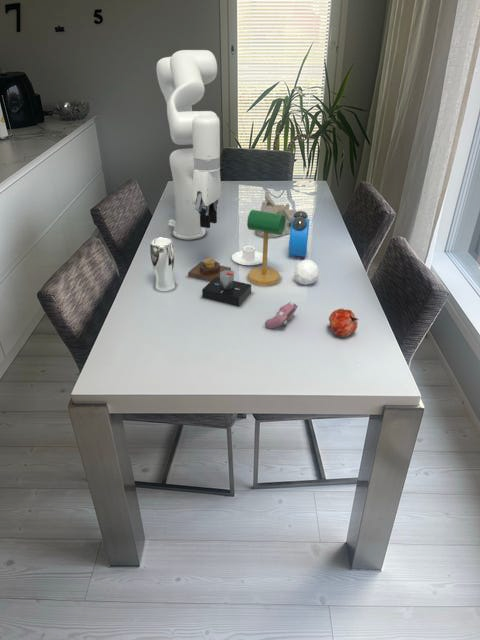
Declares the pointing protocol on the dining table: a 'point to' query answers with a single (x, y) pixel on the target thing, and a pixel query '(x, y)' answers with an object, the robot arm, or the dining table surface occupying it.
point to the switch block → (207, 271)
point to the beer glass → (163, 262)
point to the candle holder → (248, 256)
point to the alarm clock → (299, 234)
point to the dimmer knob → (226, 280)
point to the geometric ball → (306, 272)
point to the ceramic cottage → (278, 209)
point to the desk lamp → (265, 244)
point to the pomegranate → (343, 322)
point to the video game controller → (281, 315)
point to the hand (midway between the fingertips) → (208, 224)
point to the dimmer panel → (226, 292)
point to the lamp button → (209, 263)
